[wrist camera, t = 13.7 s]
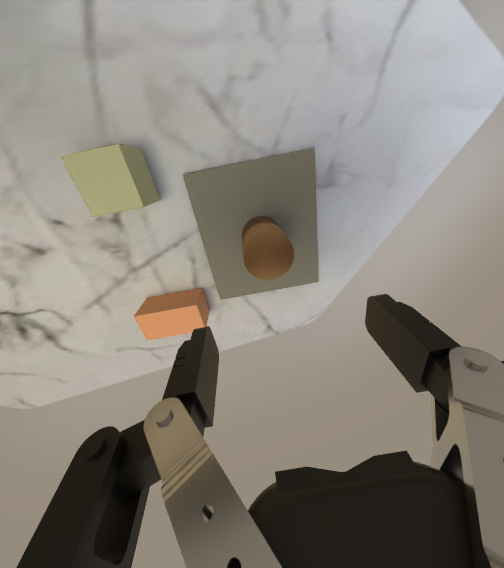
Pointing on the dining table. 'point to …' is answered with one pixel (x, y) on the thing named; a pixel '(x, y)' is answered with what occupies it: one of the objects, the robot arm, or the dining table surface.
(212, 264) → the slate mat
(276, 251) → the walnut cylinder
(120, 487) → the robot arm
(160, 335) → the terracotta brick
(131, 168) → the sage cube
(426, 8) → the dining table surface
